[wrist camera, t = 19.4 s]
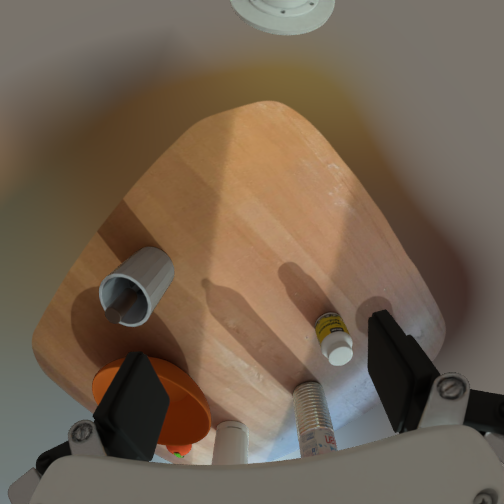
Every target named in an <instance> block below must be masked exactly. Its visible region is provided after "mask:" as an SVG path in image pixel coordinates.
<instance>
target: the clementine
mask: <svg viewBox="0 0 504 504" xmlns="http://www.w3.org/2000/svg"><path fill="white" fill-rule="evenodd" d="M166 447H167V449H168V451H169V452H171V453H172V454H174V455H176V456H177V457H181V456H182V455H185V454H187V453H188V452H189V451H190V450H191V447H192V444H189V445H184V446H167V445H166ZM183 457H184V456H183ZM183 457H182V458H183Z"/></svg>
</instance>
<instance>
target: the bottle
mask: <svg viewBox="0 0 504 504" xmlns="http://www.w3.org/2000/svg"><path fill="white" fill-rule="evenodd" d="M233 427H238V428H241V429H238V428H233ZM248 436H249V429H248V427H247V426H246V425H244V424H243V423H240V422H236V421H225V422H222V423H220V424H219V425H218V426H217V429H216V437H215V444H214V451H213V459H212V465H237V464H248V439H249V438H248Z"/></svg>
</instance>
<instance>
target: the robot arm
mask: <svg viewBox="0 0 504 504" xmlns="http://www.w3.org/2000/svg"><path fill="white" fill-rule="evenodd" d="M318 1H319V0H249V2H250V3H251V4H252V5H253V6H254V7H255V8H256V9H258V10H259V11H261V12H263V13H266V14H268V15H272V16H276V17H285V18H290V17H298V16H302V15H305V14H307V13H309V12H310V11H312V10H313V9H314V8H315V7H316V5H317V4H318ZM282 13H283V14H282ZM368 372H369V375H370V377H371V379H372V382H373V384H374V386H375V388H376V390H377V393H378V395H379V397H380V400H381V402H382V404H383V407H384V409H385V411H386V414H387V415H388V418H389V421H390V423H391V425H392V428H393V430H394V432H395V433H396V432H399V434H398V435H395V436H391V437H388V438H384V439H381V440H378V441H374V442H371V443H367V444H363V445H360V446H356V447H352V448H347V449H344V450H339V451H335V452H330V453H325V454H320V455H315V456H309V457H303V458H297V459H291V460H283V461H275V462H265V463H253V464H237V465H184V464H166V463H155V462H149V461H151V460H152V458H153V455H154V452H155V449H156V445H157V442H158V439H159V435H160V432H161V429H162V426H163V423H164V420H165V416H166V413H167V410H168V407H169V404H170V398H169V395H168V394H167V392H166V390H165V388H164V387H163V385H162V383H161V381H160V379H159V377H158V376H157V374H156V372H155V370H154V368H153V366H152V364H151V362H150V360H149V358H148V357H147V355H145V354H143V352H129V353H128V354H127V356H126V358H125V360H124V361H123V363H122V365H121V366H120V368H119V370H118V371H117V373H116V375H115V377H114V378H113V380H112V382H111V384H110V385H109V387H108V389H107V391H106V392H105V394H104V396H103V398H102V400H101V401H100V403H99V405H98V407H97V409H96V410H95V412H94V414H93V417H94V419H95V420H94V422H92V421H90V420H81V421H78V422H77V423H75V424H74V425H73V426H72V427H71V428H70V430H69V432H68V441H66V442H64V443H63V444H60V445H58V446H57V447H54V448H52V449H50V450H48V451H46V452H44V453H42V454H41V455H40V456H39V457H38V459H37V461H36V469H35V468H31V469H30V470H29V471H28V472H26V473H25V474H24V475H23V476H21V477H20V478H19V479H18V480H17V481H15V482H14V483H13V484H12V485H11V486H10V487H9V489H8V497H9V499H10V501H11V503H12V504H504V468H503V466H502V464H501V462H502V463H503V464H504V395H501V394H495V393H489V392H483V391H478V390H472V389H470V384H469V381H468V380H467V378H466V377H465V376H463V375H461V374H459V373H455V372H449V373H444V374H442V375H440V373H439V372H438V370H437V369H436V367H435V366H434V365H433V363H432V362H431V360H430V359H429V358H428V356H427V355H426V354H425V352H424V351H423V350H422V348H421V347H420V345H419V344H418V343H417V341H416V340H415V339H414V338H413V337H412V336H411V335H407V336H406V334H405V333H404V332H403V330H402V329H401V328H400V326H399V325H398V324H397V322H396V321H395V320H394V318H393V317H392V316H391V315H390V313H389V312H388V311H387V310H382V311H378V312H374V313H373V314H372V317H369V319H368ZM475 496H476V497H475Z"/></svg>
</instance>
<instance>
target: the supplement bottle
mask: <svg viewBox="0 0 504 504" xmlns="http://www.w3.org/2000/svg"><path fill="white" fill-rule="evenodd" d="M315 331H316V334H317V338H318V341H319V345H320V348H321V351H322V353H323V355H324V356H325V357H327V358H328V360H329V362H330V363H331V364H332V365H335V366H340V365H344V364H346V363H347V362H349V361H350V359H351V358H352V355H353V352H352V349H351V348H352V339H351V337H350V334H349V332H348V330H347V328H346V326H345V324H344V321H343V319H342V318H341V316H340V315H338V314H336V313H326V314H323V315H322V316H320V317H319V318H318V319H317V321H316V323H315Z"/></svg>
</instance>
